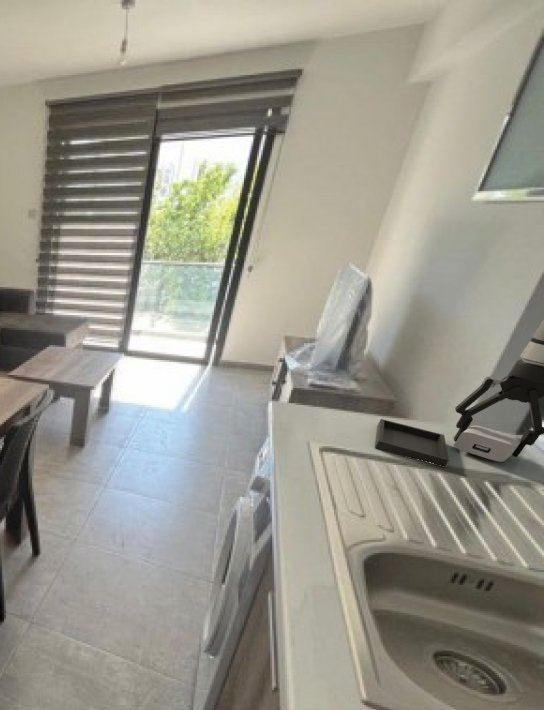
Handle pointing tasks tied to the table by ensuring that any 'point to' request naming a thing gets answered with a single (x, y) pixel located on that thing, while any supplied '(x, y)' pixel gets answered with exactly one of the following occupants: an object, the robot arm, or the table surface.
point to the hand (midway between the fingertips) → (484, 447)
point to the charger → (487, 443)
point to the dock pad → (411, 442)
